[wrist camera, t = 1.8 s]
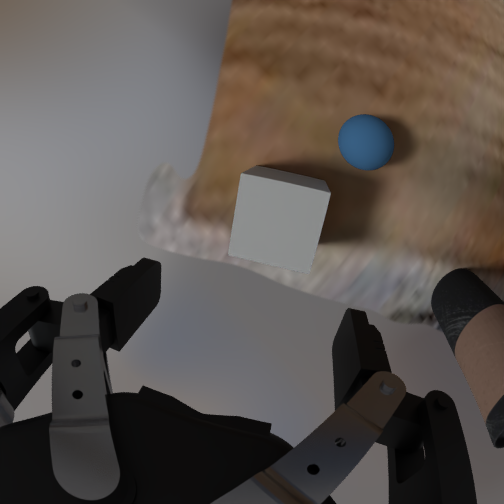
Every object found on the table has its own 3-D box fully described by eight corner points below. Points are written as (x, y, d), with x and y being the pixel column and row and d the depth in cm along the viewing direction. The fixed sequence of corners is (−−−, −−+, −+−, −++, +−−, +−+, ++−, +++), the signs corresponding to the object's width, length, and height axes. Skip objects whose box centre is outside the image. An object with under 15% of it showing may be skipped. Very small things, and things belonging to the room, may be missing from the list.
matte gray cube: (325, 180, 27) (331, 193, 20) (309, 244, 29) (309, 274, 23) (256, 165, 27) (241, 173, 21) (244, 230, 30) (228, 255, 24)
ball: (389, 125, 23) (406, 123, 19) (379, 173, 25) (393, 180, 21) (340, 110, 24) (348, 104, 19) (330, 159, 26) (336, 164, 21)
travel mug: (448, 330, 30) (504, 453, 12) (417, 301, 29) (480, 443, 11) (487, 287, 27) (568, 396, 9) (459, 253, 26) (561, 370, 8)
